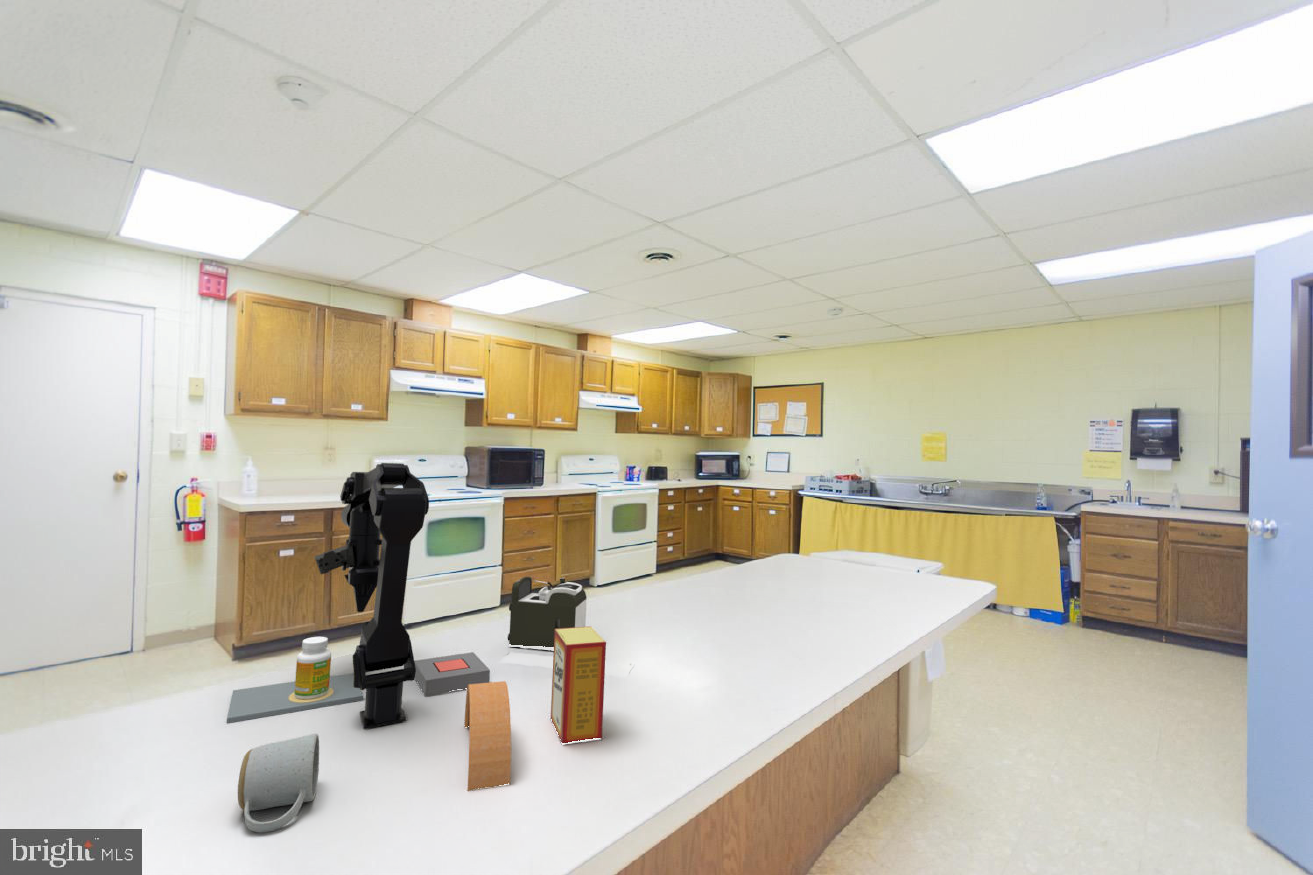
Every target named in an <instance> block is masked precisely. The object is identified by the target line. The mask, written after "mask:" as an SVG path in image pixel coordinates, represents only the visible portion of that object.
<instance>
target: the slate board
mask: <svg viewBox="0 0 1313 875" xmlns="http://www.w3.org/2000/svg"><path fill="white" fill-rule="evenodd" d="M353 683H354V672H350V673H349V672H348V673H343V674H336V675H330V681H329V691H328V692H327V693H326V694H325V695H323V696H321V697H318V698H314V699H298V698H296V697H295V695H294V693H295V681H294V680H293V681H289V682H282V683H275V684H267V685H261V686H260V685H259V686H252V687H247V688H239V689H233V690H232V693H231V699H230V702H229V708H228V712H227V717H226V724H230V723H236V722H243V721H248V720H255V719H259V718H261V719H262V718H265V717H271V716H272V717H273V716H277V715H279V716H280V715H283V714H289V713H296V712H301V711H302V712H303V711H307V710H313V709H319V708H324V707H330V706H336V705H343V704H348V703H354V702H360V701H364V694H363V690H360V688H354V687H353Z"/></svg>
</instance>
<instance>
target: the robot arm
mask: <svg viewBox="0 0 1313 875" xmlns="http://www.w3.org/2000/svg"><path fill="white" fill-rule="evenodd" d="M342 485H343V486H342V489H341V493H340V496H339V497H340V501H341V504H343V505H345V506H344V507H343V509H342V511H341V513H340V518H341V521H342V522H341V523H343V525H345V526H346V527H348V528H349V530H348V531H349V533H348V535H349V536H348V537H347V539H346V540H345V545H344V546H340V547H337V548H334V549H330V550H328V551H324V552H323V553H320V554H317V555H315V556H314V560H315V562H316V565H317V568H318V571H319V574H320V575H325V574H328V573H330V571H333V570H335V569H338V568H340V567H341V570H342V571H346V570H347V569H349V571H348V573H347V574H344V578H345V579H346V582H347V584H349V585H351V586H352V588H353V595H354V596H353V597H354V600H355V608H356V612H357V613H364V611H365V609H366V607H367V605H368V603H369V601H370V600H371V598H372V596H373V594H374V592H375V600H374V608H373V617H372V618H371V619H370V621H367V622H364V623H363V625H362V626H361V632H360V633H361V634H360V639H359V645H358V644H357V645H356V647H355V650H354V653H353V654H352V667H353V670H352V671H353V673H354V683H353V687H354V688H360V690H362V691H364V690H365V700H364V702H365V703H364V710H361V711H359V717H360V720H361V724H362V727H363V729H370V728H371V729H372V728H376V727H381V726H385V725H386V726H387V725H391V724H397V723H402V722H406V721H407V715H406V713H405V711H404V708H403V707H402V704H403V689H404V682H410V681H411V682H412V681H415V673H416V668H415V662H414V661H415V657H414V651H413V646H412V641H411V637H410V634H409V632H408V631H407V629H406V627H405V625H404V623H403V614H404V605H405V604H404V603H405V596H406V587H407V579H408V570H409V562H410V556H411V554H410V553H411V546H412V542H413V540H414V538H415V537H416V536H417V535H418V533H419V532H420V531H421V530H422V529H423V526H424V522H425V519H426V518H425V517H426V515H427V514H428V513H429V512H428V511H429V507H430V498H429V495H428V492H427V490H426V486H425V484H424V482H423V481H421V480H420V479H419V478H417V477H416V476H415V475H414V474H413V473H412V472H411V471H410V468H409V466H408V464H404V463H399V462H397V463H396V462H395V463H393V462H392V463H391V462H381V463H378V464H376V466H375V467H374V468H373V469H371V470H369V471H352V472H351V474H350V476H348V477H347V478H346V480H345V482H344V483H343V484H342ZM400 486H401V487H400ZM381 536H382V537H381ZM400 667H403V668H400ZM395 668H399V669H395ZM388 669H395V670H390V671H383V670H388ZM377 671H383V672H377ZM372 672H377V673H373V674H372ZM366 673H371V674H366Z"/></svg>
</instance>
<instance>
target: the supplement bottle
mask: <svg viewBox="0 0 1313 875" xmlns="http://www.w3.org/2000/svg"><path fill="white" fill-rule="evenodd" d="M328 644H329V638H328V637H326V636H311V637H308V638H305V639H303V640H302V642H301V649H302V650H303V651H301V652H299V654H298V655H297V656H296V657H297V658H296V665H295V693H294V695H295V697H296V698H298V699H314V698H318V697H321V696H323V695H325V694H326V693H327V692H328V691H329V681H330V676H331V665H332V664H331V663H332V652H331V651H330V649H328Z"/></svg>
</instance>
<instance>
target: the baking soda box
mask: <svg viewBox="0 0 1313 875" xmlns="http://www.w3.org/2000/svg"><path fill="white" fill-rule="evenodd" d="M606 647H607V642H606V641H605V640H604V639H603V637H602V636H600V634H599V633H598V632H597V631H596V630H595V629H594V628H593V627H592V626H585V627H575V628H560V629H555V635H554V652H553V655H552V656H553V669H552V677H551V678H552V679H551V680H552V682H551V700H550V702H551V703H550V720H551V719H552V722H553V724H554V726H555V728H556V731H557V732H558V735H559V738H560V739H561V742H562V743H568V742H572V741H578V740H579V741H580V740H585V739H593V738H602V739H603V723H604V722H603V721H604V718H603V717H604V698H605V697H604V695H605V693H604V692H605V676H606V675H605V661H606V651H607V650H606V649H607V648H606ZM552 722H551V723H552ZM556 731H555V732H556ZM559 738H558V739H559ZM561 742H560V743H561Z"/></svg>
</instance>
